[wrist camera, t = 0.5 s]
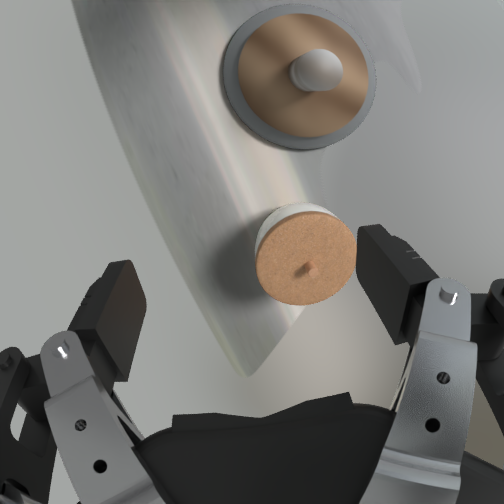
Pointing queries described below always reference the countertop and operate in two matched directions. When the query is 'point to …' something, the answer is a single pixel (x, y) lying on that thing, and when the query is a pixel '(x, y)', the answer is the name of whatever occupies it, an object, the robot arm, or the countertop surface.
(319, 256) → the lidded jar
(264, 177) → the countertop surface
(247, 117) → the rubber mat
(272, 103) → the walnut lid
